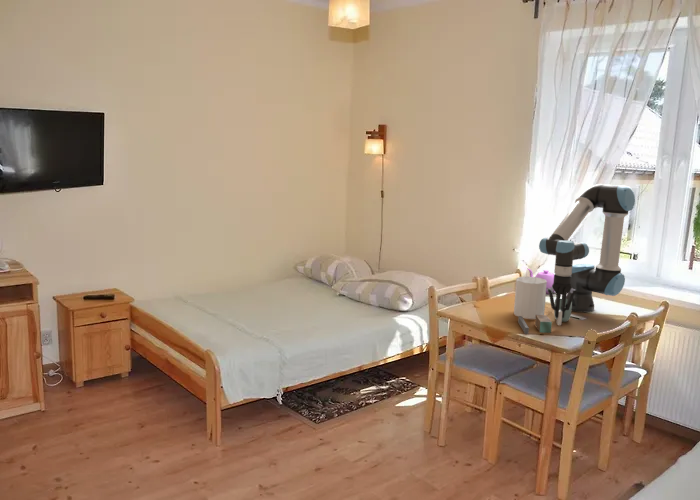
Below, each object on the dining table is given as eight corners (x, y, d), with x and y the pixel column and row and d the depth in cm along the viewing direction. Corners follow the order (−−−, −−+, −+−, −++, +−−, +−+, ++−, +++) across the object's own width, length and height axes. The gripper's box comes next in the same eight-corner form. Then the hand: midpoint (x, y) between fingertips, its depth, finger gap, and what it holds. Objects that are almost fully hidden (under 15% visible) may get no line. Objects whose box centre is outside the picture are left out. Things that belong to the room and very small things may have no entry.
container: (517, 309, 315) (519, 275, 312) (546, 313, 309) (548, 278, 305) (511, 316, 302) (513, 281, 299) (541, 321, 296) (544, 284, 293)
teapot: (521, 291, 351) (523, 269, 349) (530, 286, 362) (531, 265, 360) (556, 296, 340) (558, 274, 337) (564, 291, 351) (566, 270, 349)
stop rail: (521, 322, 293) (521, 316, 293) (528, 334, 276) (528, 327, 275) (517, 321, 293) (518, 315, 293) (525, 334, 276) (525, 327, 275)
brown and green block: (551, 332, 278) (545, 325, 289) (551, 322, 277) (546, 315, 288) (539, 332, 279) (534, 324, 289) (540, 321, 278) (535, 314, 288)
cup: (550, 318, 300) (552, 298, 298) (566, 318, 301) (567, 298, 299) (557, 323, 292) (559, 303, 290) (573, 323, 293) (574, 302, 291)
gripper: (550, 275, 275) (546, 326, 280) (579, 276, 274) (575, 327, 278) (546, 272, 282) (542, 321, 287) (575, 273, 281) (571, 322, 286)
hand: (558, 324), depth 283 cm, fingers closed
